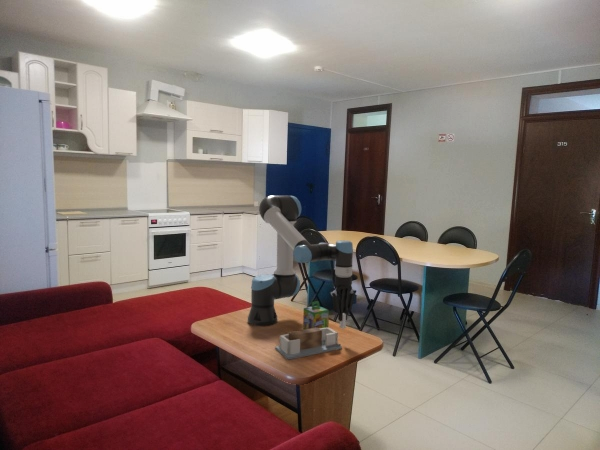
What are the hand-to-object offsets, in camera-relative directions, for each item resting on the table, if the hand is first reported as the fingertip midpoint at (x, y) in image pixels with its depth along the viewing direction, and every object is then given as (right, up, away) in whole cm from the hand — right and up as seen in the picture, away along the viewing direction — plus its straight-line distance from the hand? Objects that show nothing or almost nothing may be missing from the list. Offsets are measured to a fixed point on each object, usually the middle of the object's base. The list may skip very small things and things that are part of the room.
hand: (342, 327), depth 179 cm
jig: (-15, -7, -7) cm, 18 cm away
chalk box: (-12, -6, +13) cm, 18 cm away
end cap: (-7, -6, -3) cm, 10 cm away
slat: (-17, -6, -8) cm, 20 cm away
